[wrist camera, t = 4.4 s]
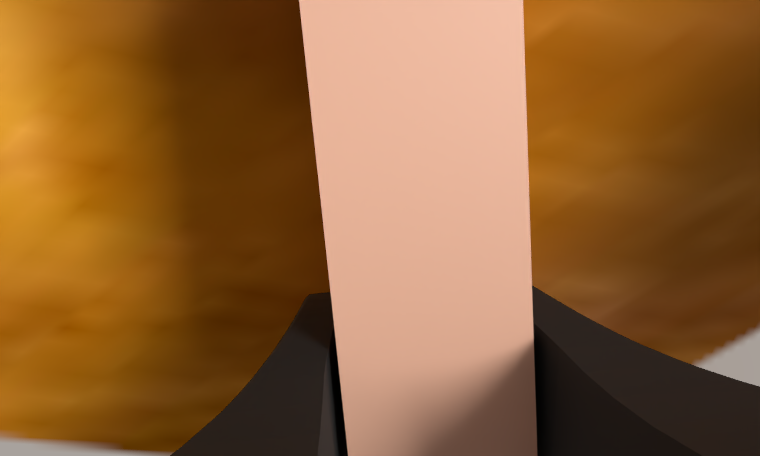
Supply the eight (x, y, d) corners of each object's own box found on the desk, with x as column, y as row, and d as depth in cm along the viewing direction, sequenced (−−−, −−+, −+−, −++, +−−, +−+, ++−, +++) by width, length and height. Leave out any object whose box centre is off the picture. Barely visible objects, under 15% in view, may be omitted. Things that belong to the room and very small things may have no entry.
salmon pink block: (428, -145, 12) (509, -397, 6) (458, 344, 15) (538, 491, 9) (296, -138, 12) (257, -389, 6) (348, 356, 14) (354, 515, 8)
